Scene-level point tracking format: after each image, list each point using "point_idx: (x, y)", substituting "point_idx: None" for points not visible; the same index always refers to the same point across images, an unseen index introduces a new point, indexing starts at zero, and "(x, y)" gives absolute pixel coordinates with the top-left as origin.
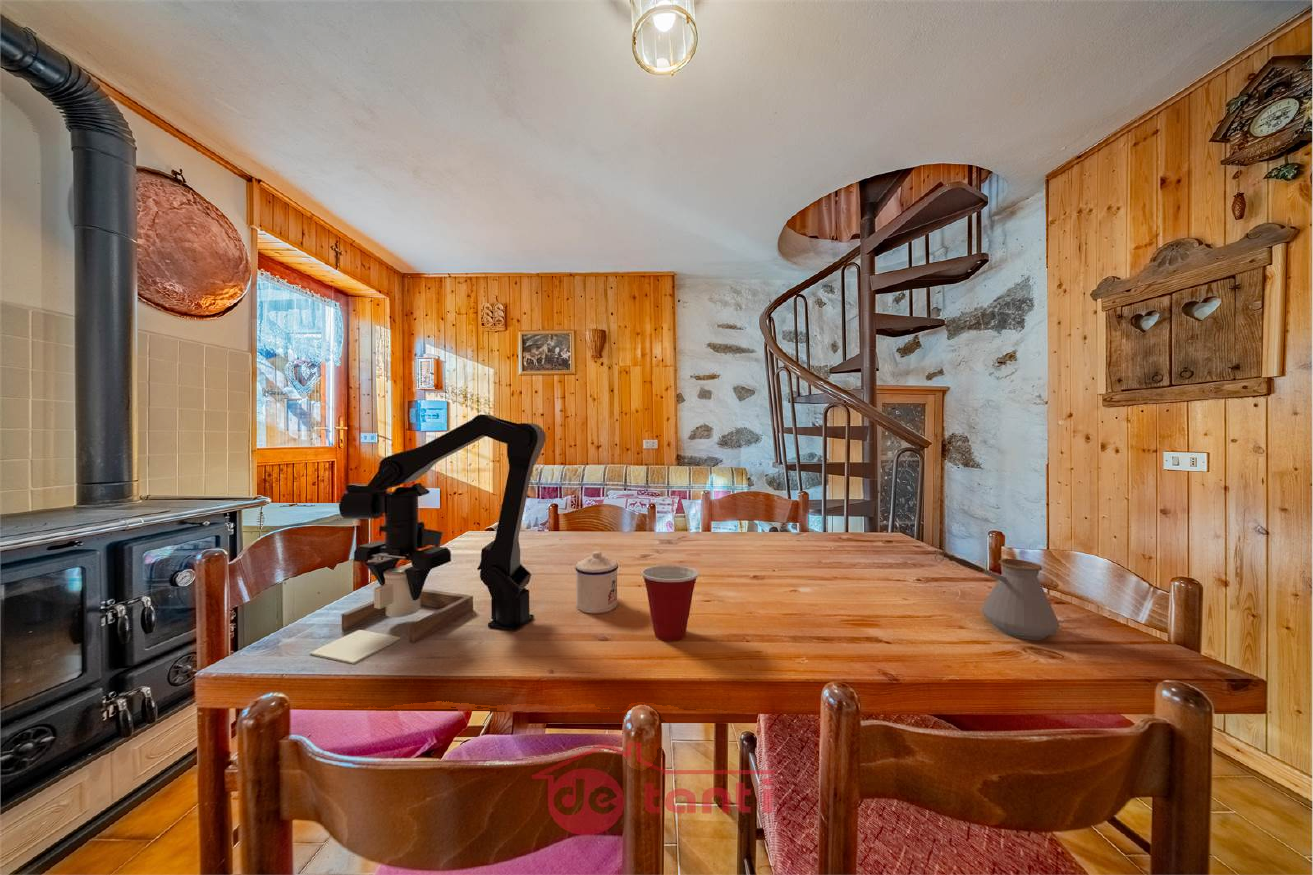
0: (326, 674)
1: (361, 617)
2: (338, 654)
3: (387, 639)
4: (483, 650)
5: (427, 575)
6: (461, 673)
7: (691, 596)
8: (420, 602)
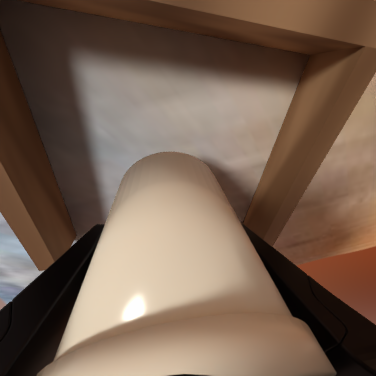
0: None
1: (57, 219)
2: None
3: None
4: (365, 215)
5: (359, 315)
6: (338, 254)
7: None
8: (218, 183)
